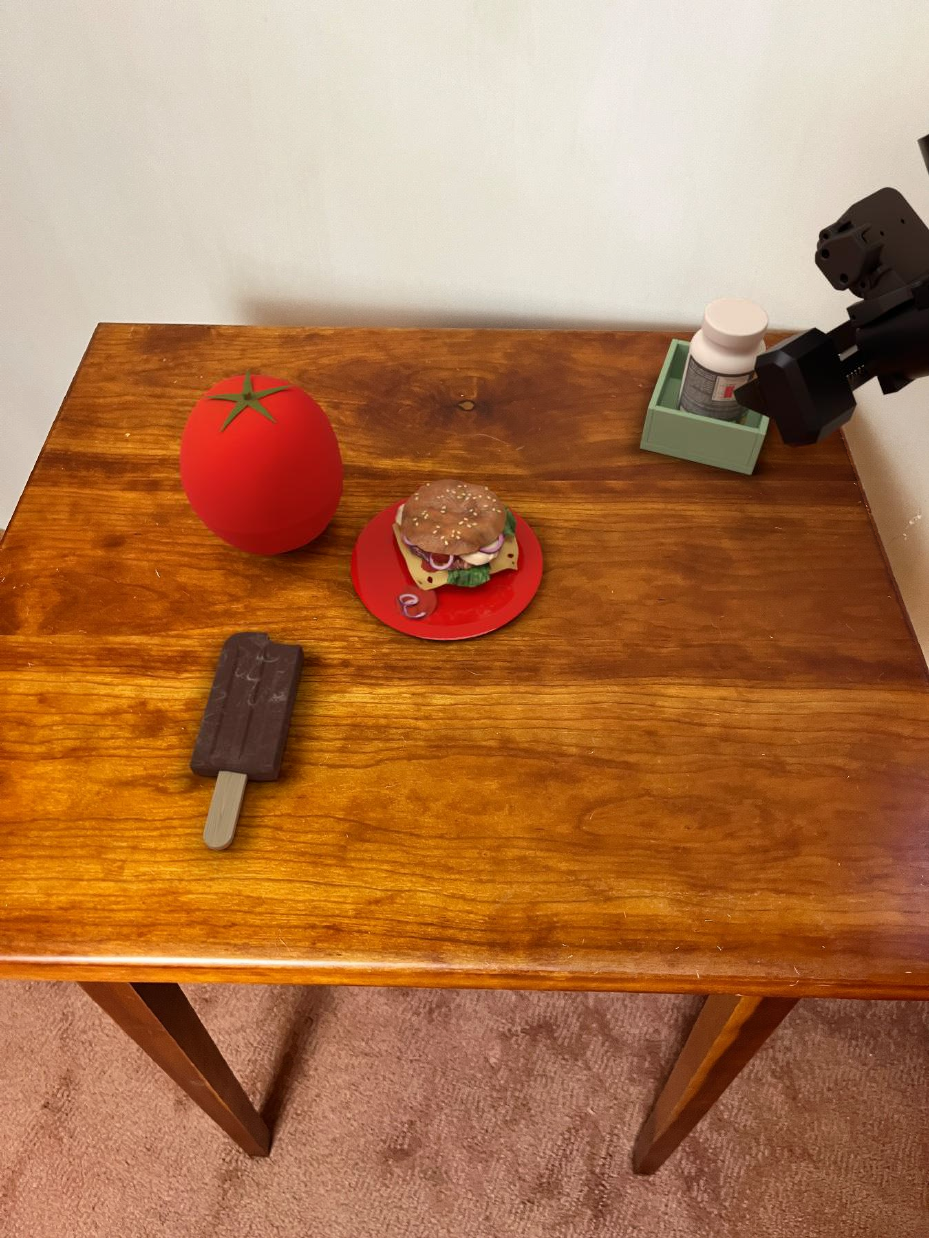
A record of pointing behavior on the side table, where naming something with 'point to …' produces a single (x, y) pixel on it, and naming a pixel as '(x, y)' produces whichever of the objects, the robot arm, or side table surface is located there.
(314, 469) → the tomato
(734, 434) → the green storage bin
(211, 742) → the ice cream bar
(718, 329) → the pill bottle
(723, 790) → the side table surface
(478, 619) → the hamburger
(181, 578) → the side table surface
